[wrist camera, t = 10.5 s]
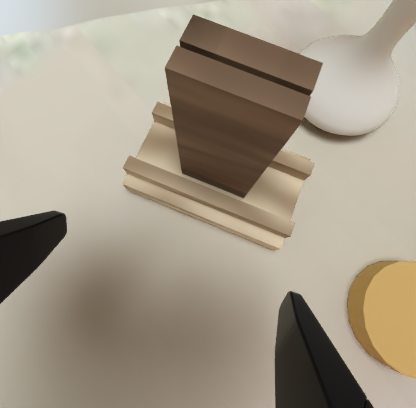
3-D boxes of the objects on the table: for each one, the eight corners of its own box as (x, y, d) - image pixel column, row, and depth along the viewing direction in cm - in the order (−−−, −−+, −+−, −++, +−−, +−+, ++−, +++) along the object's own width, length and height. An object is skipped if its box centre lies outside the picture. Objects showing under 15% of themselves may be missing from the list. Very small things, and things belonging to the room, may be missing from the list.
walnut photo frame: (243, 198, 22) (302, 120, 10) (182, 173, 22) (164, 67, 10) (254, 169, 23) (323, 62, 10) (194, 145, 23) (193, 14, 11)
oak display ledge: (273, 250, 23) (286, 248, 20) (128, 190, 24) (117, 178, 20) (301, 167, 25) (317, 152, 22) (166, 114, 26) (162, 92, 22)
